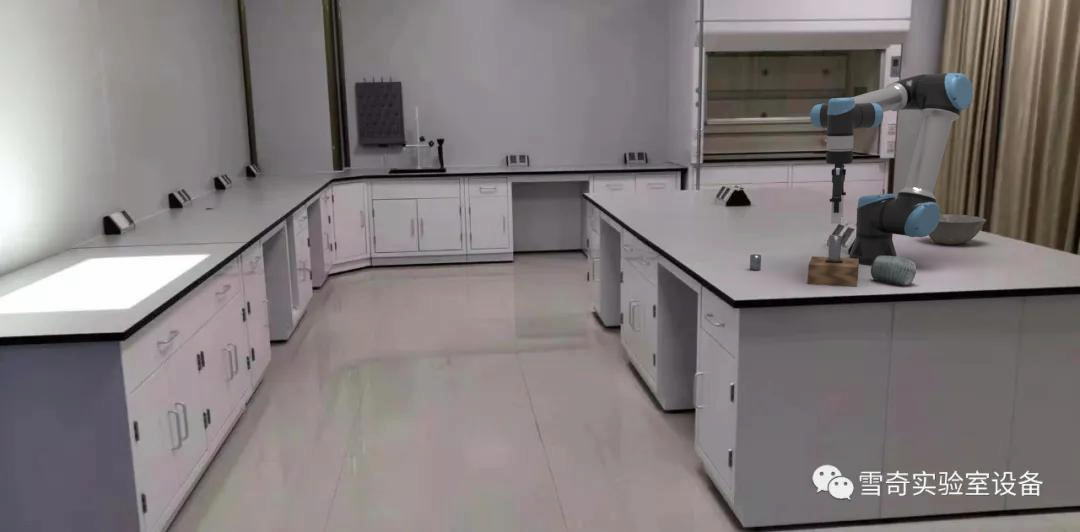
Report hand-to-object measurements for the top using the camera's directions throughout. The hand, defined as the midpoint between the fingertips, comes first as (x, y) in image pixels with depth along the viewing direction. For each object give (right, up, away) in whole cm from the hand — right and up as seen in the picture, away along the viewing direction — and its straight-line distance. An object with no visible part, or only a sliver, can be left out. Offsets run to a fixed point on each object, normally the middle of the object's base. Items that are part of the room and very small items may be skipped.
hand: (837, 220), depth 249 cm
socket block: (0, -19, +3) cm, 19 cm away
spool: (+17, -19, -1) cm, 26 cm away
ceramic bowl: (+66, -6, +63) cm, 91 cm away
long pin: (0, -19, +4) cm, 19 cm away
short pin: (-19, -15, +22) cm, 33 cm away
